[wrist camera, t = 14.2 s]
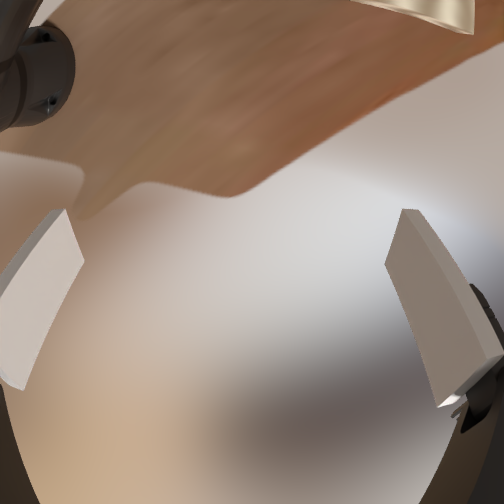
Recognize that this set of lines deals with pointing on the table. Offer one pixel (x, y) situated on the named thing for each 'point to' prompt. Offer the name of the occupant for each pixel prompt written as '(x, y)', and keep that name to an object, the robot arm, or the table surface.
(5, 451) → the robot arm
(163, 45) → the table surface
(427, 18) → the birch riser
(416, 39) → the table surface
